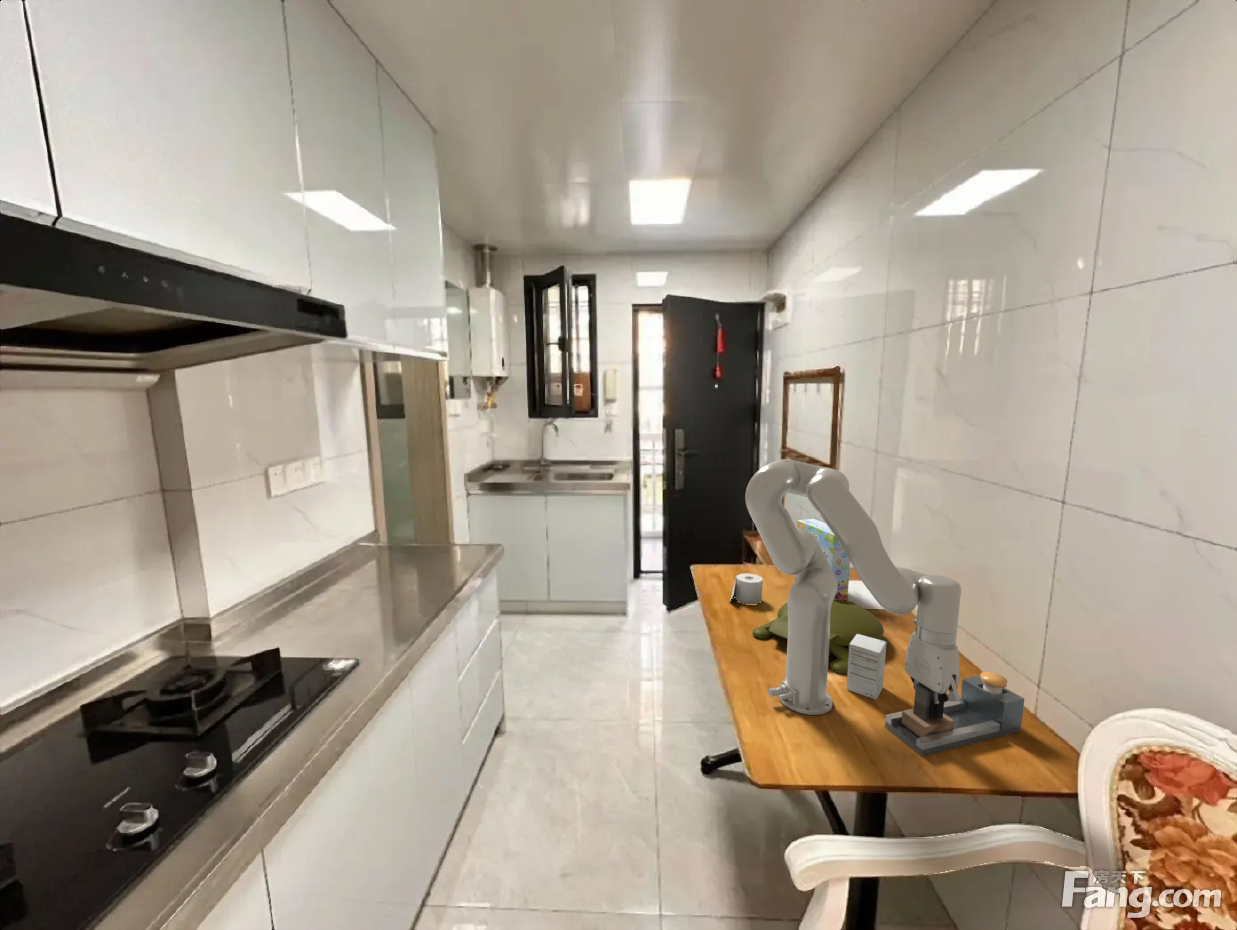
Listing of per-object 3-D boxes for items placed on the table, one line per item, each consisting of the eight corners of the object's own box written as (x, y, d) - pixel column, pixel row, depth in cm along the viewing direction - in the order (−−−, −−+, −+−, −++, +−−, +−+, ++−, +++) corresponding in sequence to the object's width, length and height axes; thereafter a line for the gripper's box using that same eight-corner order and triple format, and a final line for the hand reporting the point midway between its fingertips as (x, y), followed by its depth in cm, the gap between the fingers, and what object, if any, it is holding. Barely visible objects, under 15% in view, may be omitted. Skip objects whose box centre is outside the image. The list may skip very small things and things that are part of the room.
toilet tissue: (724, 603, 187) (724, 580, 186) (745, 593, 196) (746, 571, 194) (745, 611, 180) (746, 587, 179) (766, 600, 189) (767, 578, 188)
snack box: (792, 582, 207) (795, 519, 204) (810, 580, 210) (814, 517, 206) (829, 603, 187) (833, 533, 183) (849, 600, 189) (854, 532, 186)
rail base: (921, 756, 109) (925, 721, 107) (884, 727, 118) (887, 694, 117) (1020, 731, 117) (1024, 698, 115) (978, 706, 126) (981, 675, 125)
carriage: (923, 740, 111) (928, 696, 110) (901, 723, 117) (904, 681, 115) (952, 733, 113) (957, 690, 112) (929, 716, 119) (933, 676, 118)
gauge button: (992, 718, 117) (996, 685, 116) (971, 705, 122) (975, 673, 121) (1008, 714, 118) (1012, 681, 117) (987, 701, 123) (991, 670, 122)
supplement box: (853, 677, 139) (856, 632, 137) (884, 687, 134) (887, 641, 132) (845, 689, 133) (848, 643, 131) (876, 700, 128) (880, 652, 126)
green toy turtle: (844, 678, 139) (846, 644, 137) (748, 636, 162) (749, 606, 161) (900, 639, 161) (902, 609, 159) (809, 607, 184) (810, 581, 183)
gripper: (891, 620, 118) (885, 694, 121) (956, 654, 103) (948, 739, 106) (917, 616, 121) (911, 689, 123) (985, 649, 105) (976, 732, 108)
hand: (928, 711), depth 114 cm, fingers closed on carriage, 3 cm apart
